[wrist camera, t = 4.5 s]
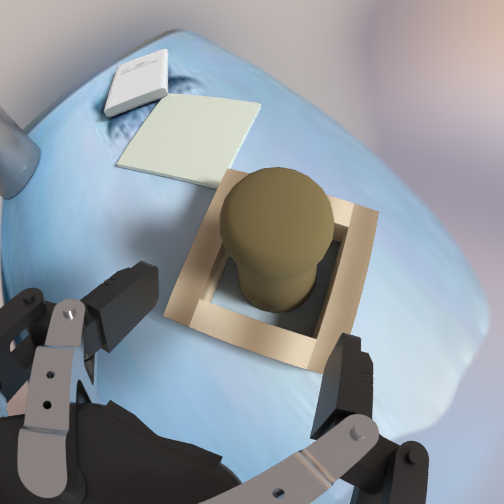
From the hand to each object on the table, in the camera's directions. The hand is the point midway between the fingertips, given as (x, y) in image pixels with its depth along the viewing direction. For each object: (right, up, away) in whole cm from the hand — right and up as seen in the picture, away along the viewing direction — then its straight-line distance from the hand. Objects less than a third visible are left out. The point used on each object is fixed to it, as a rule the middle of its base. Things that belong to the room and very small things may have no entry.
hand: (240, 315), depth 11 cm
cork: (+2, +1, +11) cm, 11 cm away
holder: (+2, +1, +10) cm, 11 cm away
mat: (-6, +15, +16) cm, 22 cm away
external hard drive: (-15, +25, +20) cm, 35 cm away
